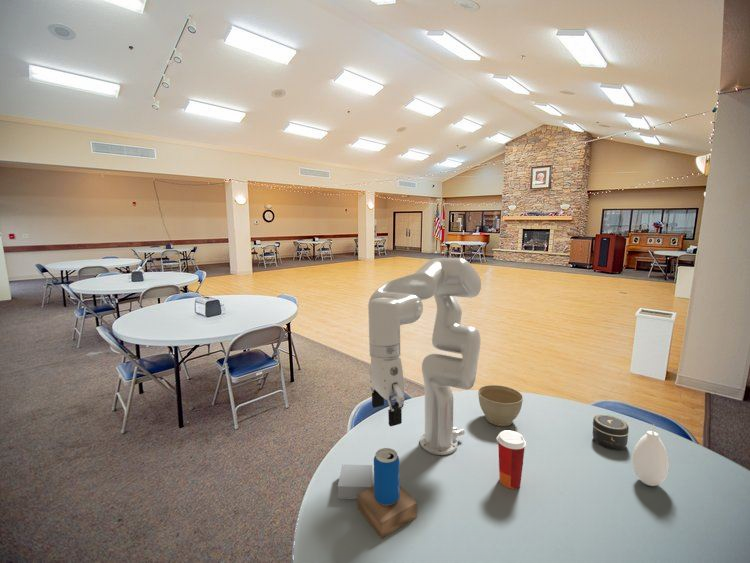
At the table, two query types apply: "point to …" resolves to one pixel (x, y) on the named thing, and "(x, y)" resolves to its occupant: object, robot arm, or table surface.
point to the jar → (610, 432)
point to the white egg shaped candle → (650, 459)
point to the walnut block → (387, 511)
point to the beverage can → (386, 476)
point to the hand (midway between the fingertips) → (386, 414)
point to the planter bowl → (500, 404)
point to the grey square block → (354, 480)
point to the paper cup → (510, 458)
